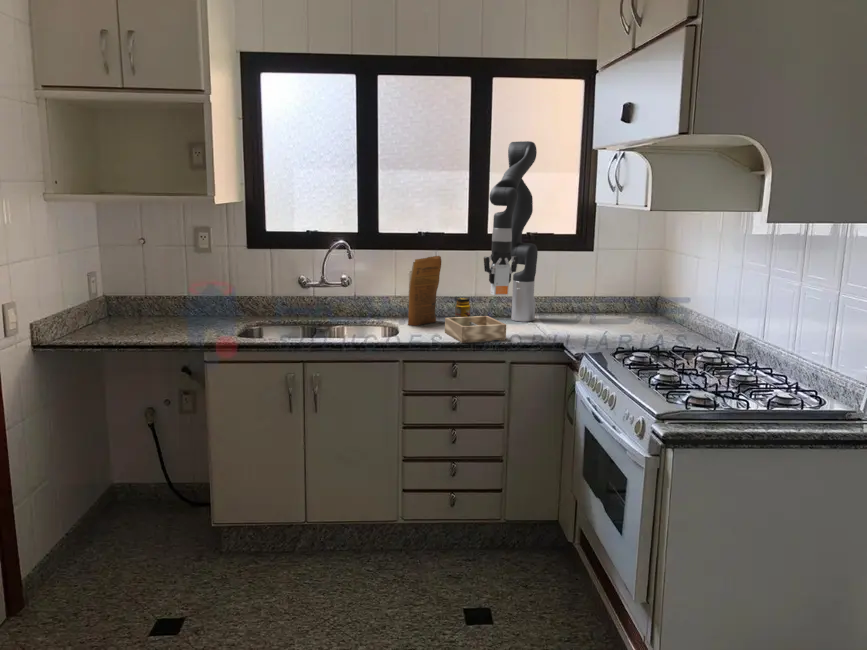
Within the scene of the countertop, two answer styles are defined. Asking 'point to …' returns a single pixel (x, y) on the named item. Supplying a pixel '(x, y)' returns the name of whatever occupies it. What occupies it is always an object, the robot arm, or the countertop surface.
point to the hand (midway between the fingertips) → (499, 283)
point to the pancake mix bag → (423, 290)
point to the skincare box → (501, 280)
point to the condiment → (462, 307)
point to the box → (475, 329)
